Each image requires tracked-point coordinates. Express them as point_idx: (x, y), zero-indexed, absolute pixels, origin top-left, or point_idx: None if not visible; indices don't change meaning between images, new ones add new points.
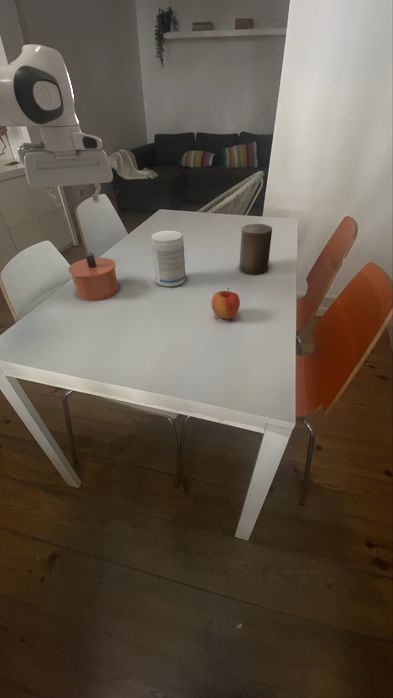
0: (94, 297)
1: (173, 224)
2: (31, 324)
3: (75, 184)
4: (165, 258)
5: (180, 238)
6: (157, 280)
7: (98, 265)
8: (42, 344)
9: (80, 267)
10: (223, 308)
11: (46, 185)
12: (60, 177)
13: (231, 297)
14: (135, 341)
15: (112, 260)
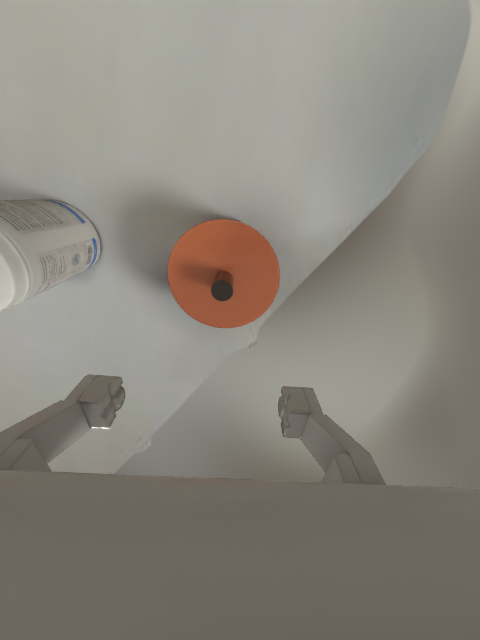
0: (239, 221)
1: (67, 458)
2: (377, 172)
3: (158, 479)
4: (10, 208)
5: None
6: (92, 232)
7: (209, 278)
8: (387, 46)
9: (251, 285)
10: None
11: (397, 500)
12: (277, 577)
13: None
14: None
15: (173, 293)
